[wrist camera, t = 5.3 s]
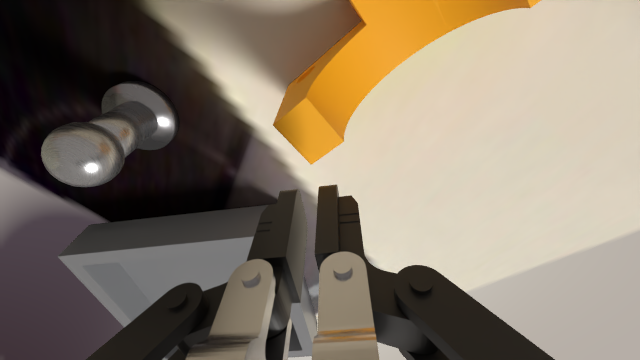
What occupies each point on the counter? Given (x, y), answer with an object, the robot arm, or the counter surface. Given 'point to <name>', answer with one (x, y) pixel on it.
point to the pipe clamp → (367, 64)
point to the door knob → (111, 135)
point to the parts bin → (173, 263)
